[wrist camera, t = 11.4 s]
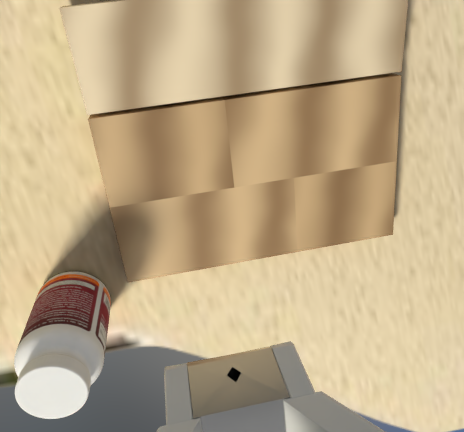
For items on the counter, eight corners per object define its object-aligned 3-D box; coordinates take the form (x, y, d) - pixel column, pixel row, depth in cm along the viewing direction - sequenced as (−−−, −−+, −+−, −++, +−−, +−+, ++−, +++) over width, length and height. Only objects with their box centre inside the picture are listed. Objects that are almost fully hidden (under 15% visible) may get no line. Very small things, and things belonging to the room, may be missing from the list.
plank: (399, -32, 32) (411, -32, 31) (391, 67, 36) (401, 71, 34) (63, 6, 30) (59, 8, 28) (89, 109, 33) (87, 115, 32)
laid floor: (391, 73, 36) (401, 75, 35) (384, 227, 42) (392, 234, 40) (90, 114, 33) (88, 119, 32) (128, 272, 39) (127, 282, 38)
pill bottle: (22, 298, 39) (-21, 396, 29) (74, 255, 38) (47, 339, 28) (76, 338, 41) (54, 440, 31) (126, 299, 40) (119, 390, 30)
